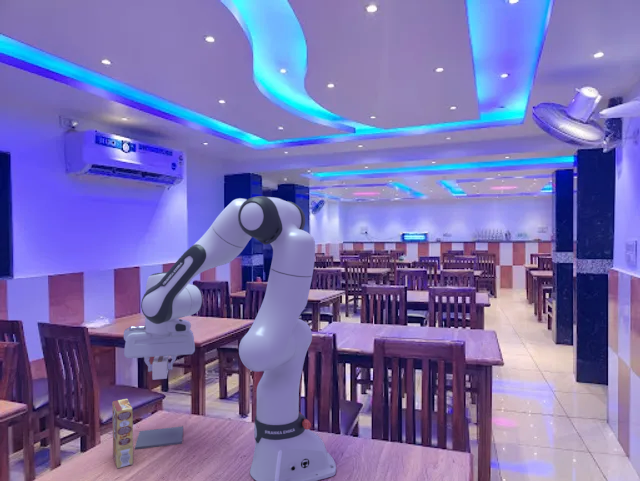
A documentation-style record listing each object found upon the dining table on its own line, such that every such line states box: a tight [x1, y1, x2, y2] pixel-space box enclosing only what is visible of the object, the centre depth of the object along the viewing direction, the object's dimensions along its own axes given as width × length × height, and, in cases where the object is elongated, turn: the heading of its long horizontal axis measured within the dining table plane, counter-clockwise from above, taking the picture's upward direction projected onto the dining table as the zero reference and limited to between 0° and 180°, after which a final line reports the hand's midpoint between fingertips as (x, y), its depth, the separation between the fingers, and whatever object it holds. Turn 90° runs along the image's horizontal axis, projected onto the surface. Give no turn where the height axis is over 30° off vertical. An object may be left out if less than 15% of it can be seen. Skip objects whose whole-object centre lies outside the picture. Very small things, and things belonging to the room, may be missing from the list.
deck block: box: [151, 356, 169, 381], centre depth 131 cm, size 7×4×5 cm, turn 17°
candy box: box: [111, 398, 134, 469], centre depth 118 cm, size 9×4×15 cm, turn 33°
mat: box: [134, 425, 184, 450], centre depth 131 cm, size 13×11×1 cm
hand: (160, 370), depth 131 cm, fingers closed on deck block, 4 cm apart
